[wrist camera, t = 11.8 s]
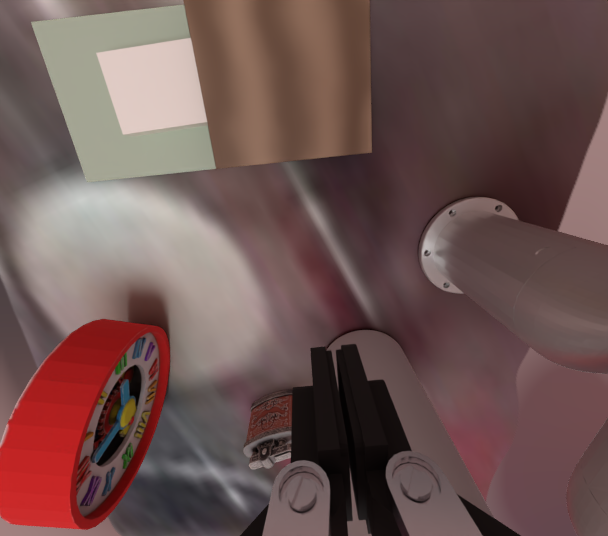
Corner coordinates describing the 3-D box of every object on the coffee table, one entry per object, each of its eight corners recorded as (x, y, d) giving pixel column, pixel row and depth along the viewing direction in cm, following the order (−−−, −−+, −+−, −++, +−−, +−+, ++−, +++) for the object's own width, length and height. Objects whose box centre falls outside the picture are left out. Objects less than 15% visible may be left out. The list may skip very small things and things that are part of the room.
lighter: (257, 417, 47) (247, 481, 38) (247, 402, 46) (234, 464, 37) (302, 400, 46) (303, 462, 37) (293, 385, 45) (292, 445, 36)
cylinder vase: (338, 405, 47) (380, 653, 23) (307, 346, 42) (318, 576, 19) (413, 378, 45) (538, 616, 22) (387, 314, 41) (508, 523, 18)
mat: (185, 6, 28) (183, 4, 28) (216, 168, 34) (216, 168, 33) (34, 23, 28) (30, 22, 28) (89, 181, 34) (87, 182, 33)
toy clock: (170, 408, 46) (83, 579, 27) (132, 404, 46) (17, 575, 27) (170, 297, 39) (54, 423, 21) (125, 290, 39) (-35, 414, 20)
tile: (199, 47, 29) (190, 37, 27) (216, 124, 32) (209, 121, 29) (112, 61, 29) (96, 52, 27) (135, 136, 32) (122, 134, 29)
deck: (359, -14, 28) (369, -40, 24) (363, 153, 33) (371, 152, 30) (195, 5, 28) (179, -18, 24) (225, 167, 34) (216, 168, 30)
